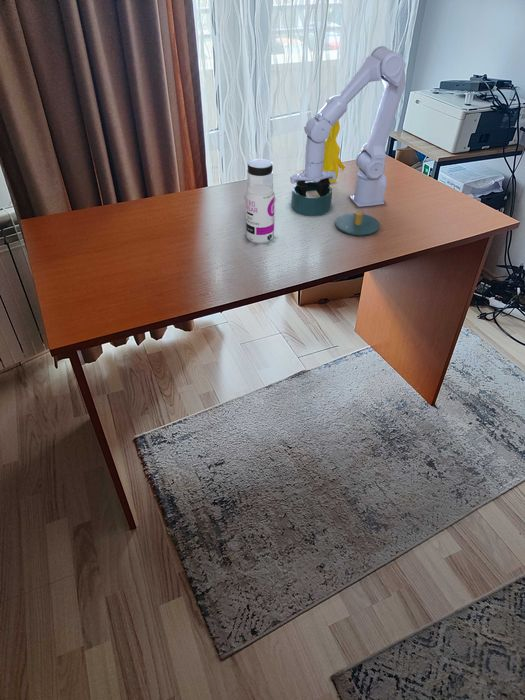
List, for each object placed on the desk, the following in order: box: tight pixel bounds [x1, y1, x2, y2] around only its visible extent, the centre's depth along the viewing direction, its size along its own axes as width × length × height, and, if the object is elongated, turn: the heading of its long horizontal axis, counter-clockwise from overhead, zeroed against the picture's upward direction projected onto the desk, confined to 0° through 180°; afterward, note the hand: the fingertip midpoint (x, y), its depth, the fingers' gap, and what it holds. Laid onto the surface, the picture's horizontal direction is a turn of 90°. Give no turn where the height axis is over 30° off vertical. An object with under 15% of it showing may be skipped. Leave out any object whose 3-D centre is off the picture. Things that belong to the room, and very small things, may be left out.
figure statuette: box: [301, 120, 346, 184], centre depth 164 cm, size 18×8×22 cm, turn 113°
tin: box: [291, 181, 333, 217], centre depth 155 cm, size 13×13×6 cm
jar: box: [246, 158, 274, 191], centre depth 157 cm, size 9×8×12 cm
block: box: [306, 191, 320, 197], centre depth 155 cm, size 4×4×4 cm
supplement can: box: [245, 184, 276, 245], centre depth 137 cm, size 8×8×15 cm
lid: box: [335, 210, 381, 237], centre depth 145 cm, size 14×14×4 cm
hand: (311, 202), depth 156 cm, fingers open, 5 cm apart
